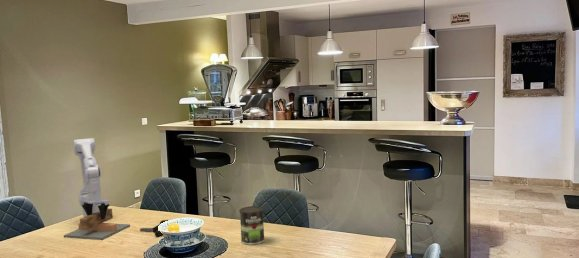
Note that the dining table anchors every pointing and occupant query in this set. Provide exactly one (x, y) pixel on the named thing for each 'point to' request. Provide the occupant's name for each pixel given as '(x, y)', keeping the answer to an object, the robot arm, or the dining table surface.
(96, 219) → the walnut beam
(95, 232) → the stand
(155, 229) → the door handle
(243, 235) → the coffee can
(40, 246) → the dining table surface
